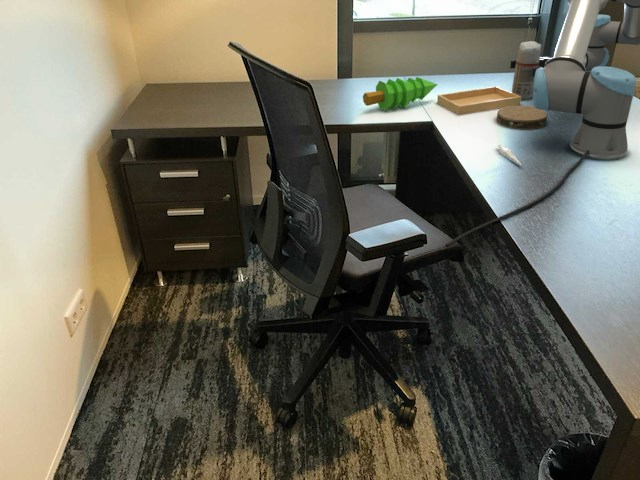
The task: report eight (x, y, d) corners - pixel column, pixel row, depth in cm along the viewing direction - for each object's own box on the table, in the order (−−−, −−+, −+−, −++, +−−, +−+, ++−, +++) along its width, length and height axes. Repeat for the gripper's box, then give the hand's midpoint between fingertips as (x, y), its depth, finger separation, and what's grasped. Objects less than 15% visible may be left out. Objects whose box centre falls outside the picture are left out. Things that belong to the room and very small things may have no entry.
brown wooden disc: (506, 111, 198) (507, 103, 196) (551, 118, 189) (553, 109, 188) (489, 124, 187) (490, 116, 185) (537, 132, 178) (538, 123, 177)
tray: (495, 94, 216) (496, 86, 214) (520, 104, 203) (521, 96, 202) (437, 103, 210) (437, 95, 208) (458, 115, 197) (459, 106, 195)
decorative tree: (361, 77, 200) (434, 63, 208) (358, 102, 209) (427, 88, 217) (374, 96, 194) (449, 81, 202) (370, 121, 203) (441, 106, 211)
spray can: (536, 95, 212) (544, 41, 202) (530, 101, 206) (539, 45, 196) (514, 92, 216) (521, 39, 206) (507, 98, 210) (514, 43, 200)
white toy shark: (494, 149, 168) (495, 143, 167) (502, 148, 168) (503, 142, 167) (516, 169, 155) (517, 162, 154) (525, 168, 155) (526, 161, 154)
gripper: (591, 79, 202) (542, 87, 197) (547, 64, 223) (501, 71, 217) (595, 58, 198) (545, 65, 193) (550, 45, 219) (503, 51, 214)
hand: (521, 68), depth 205 cm, fingers open, 13 cm apart
